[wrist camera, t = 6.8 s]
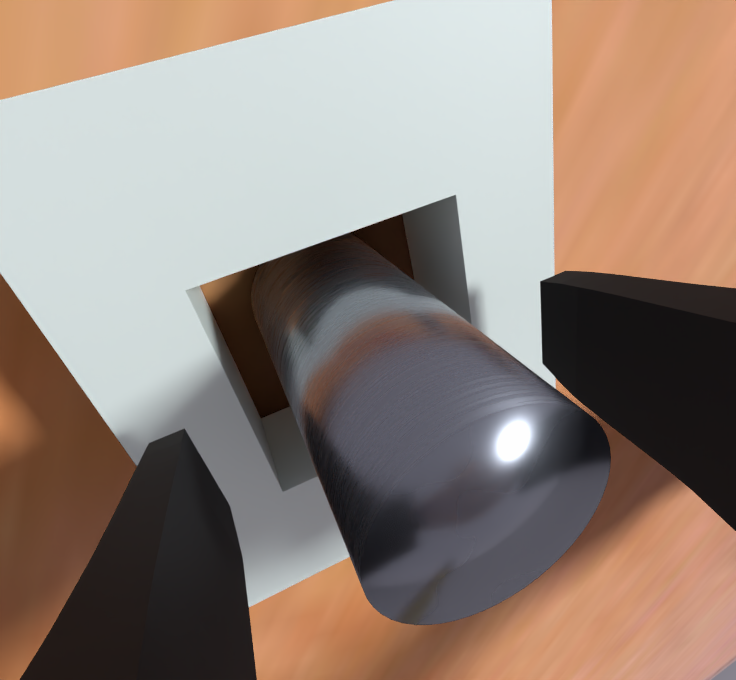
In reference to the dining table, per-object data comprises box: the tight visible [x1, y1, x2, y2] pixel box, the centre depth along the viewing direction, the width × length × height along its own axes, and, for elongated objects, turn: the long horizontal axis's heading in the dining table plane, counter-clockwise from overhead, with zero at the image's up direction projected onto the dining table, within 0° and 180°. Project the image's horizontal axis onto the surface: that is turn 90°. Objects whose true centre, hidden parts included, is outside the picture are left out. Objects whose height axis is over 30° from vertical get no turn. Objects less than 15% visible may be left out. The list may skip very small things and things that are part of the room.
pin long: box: [251, 233, 611, 625], centre depth 9 cm, size 4×4×8 cm
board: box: [0, 0, 556, 607], centre depth 11 cm, size 12×10×3 cm
